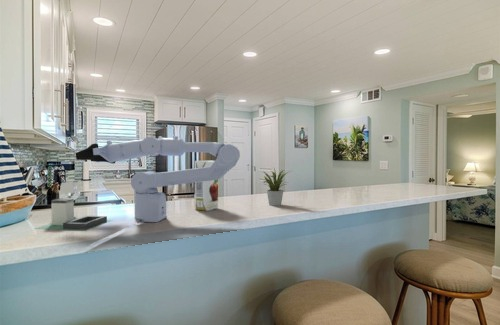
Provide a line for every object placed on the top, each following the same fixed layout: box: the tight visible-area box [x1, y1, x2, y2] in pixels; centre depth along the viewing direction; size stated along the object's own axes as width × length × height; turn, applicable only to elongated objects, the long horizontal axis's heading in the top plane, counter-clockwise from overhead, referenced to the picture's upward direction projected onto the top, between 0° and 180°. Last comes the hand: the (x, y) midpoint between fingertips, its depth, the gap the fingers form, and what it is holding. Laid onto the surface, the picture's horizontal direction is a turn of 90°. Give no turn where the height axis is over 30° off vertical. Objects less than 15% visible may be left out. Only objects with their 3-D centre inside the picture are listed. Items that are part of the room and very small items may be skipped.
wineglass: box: [59, 180, 81, 201], centre depth 94 cm, size 6×6×12 cm
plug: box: [51, 198, 75, 225], centre depth 82 cm, size 5×3×7 cm, turn 85°
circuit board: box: [34, 215, 113, 231], centre depth 81 cm, size 15×12×2 cm
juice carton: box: [194, 160, 219, 212], centre depth 110 cm, size 8×9×19 cm
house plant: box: [262, 168, 292, 207], centre depth 121 cm, size 14×14×16 cm
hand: (84, 157), depth 92 cm, fingers open, 7 cm apart
